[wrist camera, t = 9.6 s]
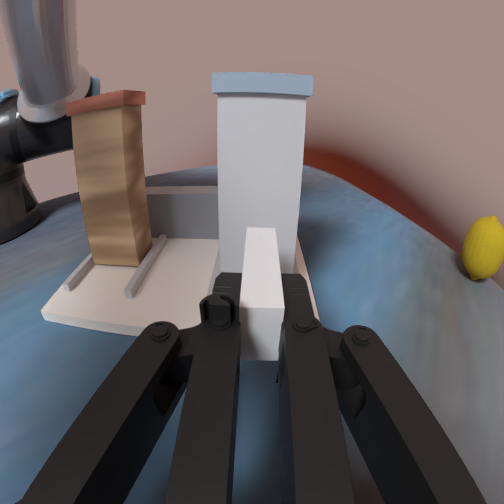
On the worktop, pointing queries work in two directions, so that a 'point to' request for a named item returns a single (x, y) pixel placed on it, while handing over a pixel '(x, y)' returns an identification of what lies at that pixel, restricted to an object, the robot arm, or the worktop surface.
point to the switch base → (154, 270)
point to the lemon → (483, 248)
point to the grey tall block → (259, 160)
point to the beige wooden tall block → (112, 175)
